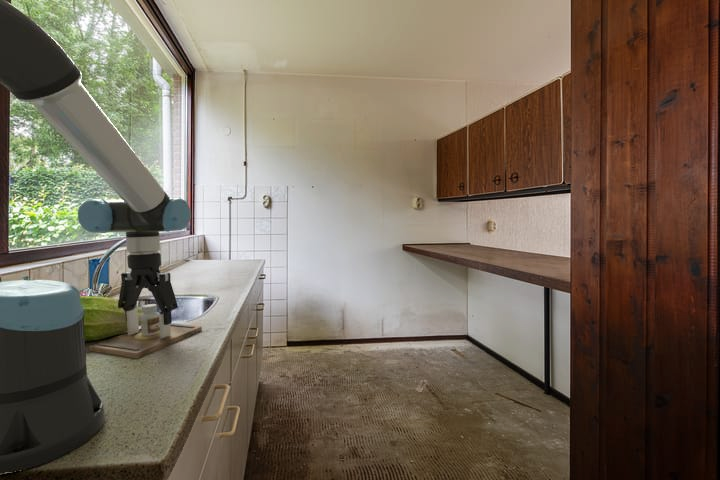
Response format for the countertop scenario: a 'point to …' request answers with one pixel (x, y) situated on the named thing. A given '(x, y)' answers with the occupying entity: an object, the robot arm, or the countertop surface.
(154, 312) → the pill bottle
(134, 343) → the cutting board
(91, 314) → the green papaya
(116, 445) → the countertop surface
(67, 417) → the robot arm
